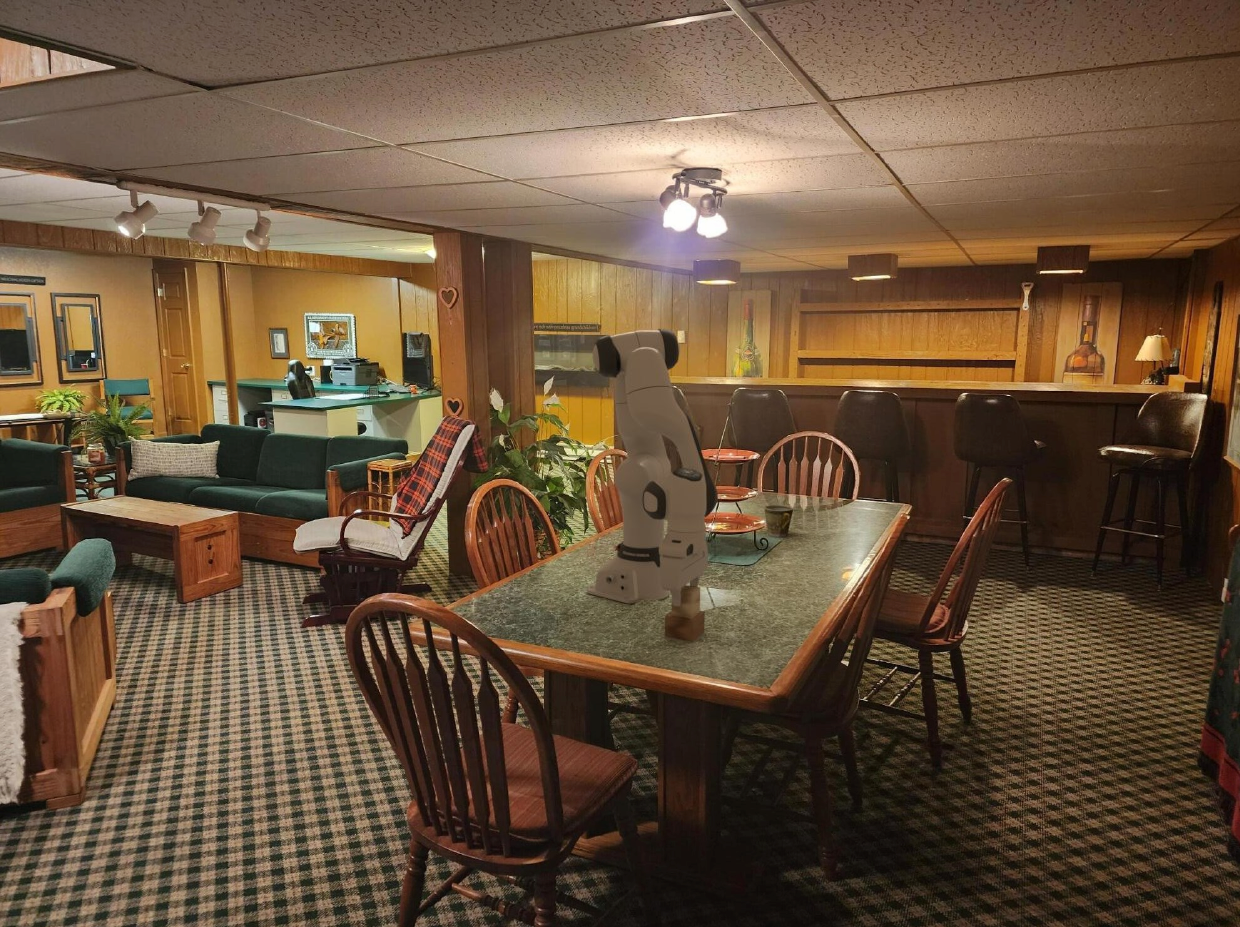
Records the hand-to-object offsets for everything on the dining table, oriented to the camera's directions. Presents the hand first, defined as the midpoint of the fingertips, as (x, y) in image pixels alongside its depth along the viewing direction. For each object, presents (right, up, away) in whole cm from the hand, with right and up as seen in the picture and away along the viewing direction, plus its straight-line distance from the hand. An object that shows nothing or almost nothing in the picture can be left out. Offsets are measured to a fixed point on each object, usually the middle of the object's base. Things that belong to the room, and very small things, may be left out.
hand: (685, 599), depth 185 cm
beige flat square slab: (0, -10, +1) cm, 10 cm away
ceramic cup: (+42, +5, +100) cm, 109 cm away
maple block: (0, -3, 0) cm, 4 cm away
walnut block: (0, -8, +1) cm, 9 cm away
